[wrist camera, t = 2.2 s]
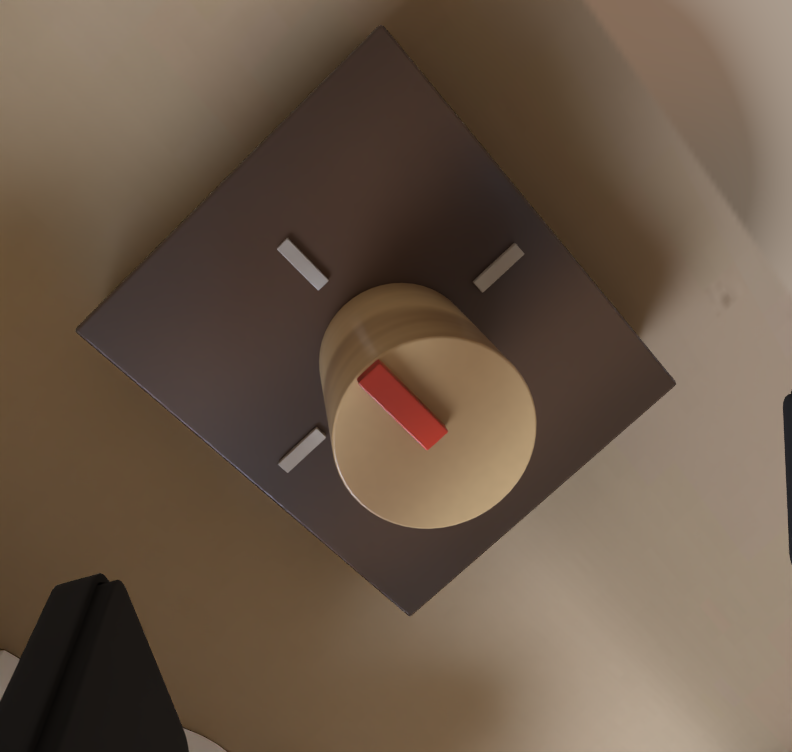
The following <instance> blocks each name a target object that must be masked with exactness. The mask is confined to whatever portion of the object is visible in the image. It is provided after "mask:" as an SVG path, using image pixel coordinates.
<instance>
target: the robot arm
mask: <svg viewBox="0 0 792 752" xmlns="http://www.w3.org/2000/svg"><path fill="white" fill-rule="evenodd" d="M783 418H784V440H785V463H786V486H787V509H788V531H789V554H790V560H791V563H792V391H791V394H789V395H787V396H786V397H785V399H784V402H783ZM0 752H189V748H188V743H187V738H186V735H185V732H184V730H183V727H182V725H181V722H180V720H179V717H178V715H177V712H176V710H175V708H174V705H173V703H172V700H171V698H170V695H169V693H168V690H167V688H166V685H165V683H164V681H163V678H162V676H161V673H160V671H159V668H158V666H157V663H156V661H155V659H154V656H153V654H152V651H151V649H150V646H149V644H148V641H147V639H146V637H145V634H144V632H143V629H142V627H141V624H140V622H139V619H138V617H137V614H136V612H135V610H134V607H133V605H132V602H131V600H130V597H129V595H128V592H127V590H126V588H125V586H124V584H123V583H122V582H121V581H120V580H115V581H112V582H109V580H108V579H107V578H106V577H105V575H103V574H101V573H99V574H96V575H92V576H89V577H85V578H81V579H78V580H74V581H70V582H67V583H63V584H59V585H57V586H55V587H54V589H53V590H52V592H51V594H50V596H49V598H48V600H47V603H46V605H45V607H44V609H43V611H42V613H41V615H40V618H39V620H38V622H37V624H36V626H35V628H34V630H33V632H32V635H31V637H30V639H29V641H28V643H27V645H26V647H25V649H24V652H23V654H22V656H21V658H20V660H19V662H18V664H17V666H16V669H15V671H14V673H13V675H12V677H11V679H10V681H9V683H8V686H7V688H6V690H5V692H4V694H3V696H2V698H1V701H0Z"/></svg>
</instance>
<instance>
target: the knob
mask: <svg viewBox="0 0 792 752" xmlns="http://www.w3.org/2000/svg"><path fill="white" fill-rule="evenodd" d="M319 371H320V377H321V384H322V390H323V396H324V402H325V408H326V415H327V421H328V427H329V433H330V439H331V445H332V451H333V456H334V461H335V465H336V468H337V470H338V473H339V476H340V478H341V479H342V481H343V483H344V485H345V487H346V488H347V489H348V491H349V492H350V493H351V495H352V496H353V497H354V498H355V499H356V500H357V501H358V502H359V503H360V504H361V505H362V506H363V507H365V508H366V509H367V510H368V511H370V512H371V513H373V514H375V515H376V516H378V517H380V518H382V519H384V520H387V521H389V522H391V523H394V524H398V525H401V526H405V527H411V528H421V529H433V528H443V527H448V526H453V525H457V524H460V523H463V522H466V521H469V520H471V519H473V518H475V517H477V516H479V515H481V514H483V513H484V512H486V511H488V510H489V509H491V508H492V507H493V506H495V505H496V504H497V503H498V502H500V501H501V500H502V499H503V498H504V497H505V496H506V495H507V494H508V493H509V492H510V491H511V490H512V489H513V487H514V486H515V485H516V484H517V482H518V481H519V479H520V478H521V476H522V474H523V473H524V471H525V469H526V467H527V465H528V463H529V461H530V458H531V455H532V452H533V448H534V444H535V438H536V426H537V420H536V410H535V406H534V401H533V397H532V395H531V392H530V390H529V387H528V385H527V384H526V382H525V380H524V378H523V377H522V375H521V374H520V373H519V371H518V370H517V369H516V367H515V366H514V365H513V364H512V363H511V362H510V361H509V360H508V359H507V358H506V357H505V356H504V355H503V354H502V353H501V352H500V351H499V350H498V349H497V348H496V347H495V346H494V344H493V343H492V342H491V341H490V340H489V339H488V338H487V337H486V336H485V335H484V334H483V333H482V332H481V331H480V330H479V329H478V328H477V327H476V326H475V325H474V324H473V323H472V322H471V321H470V320H469V319H468V318H467V317H466V316H465V315H464V314H463V313H462V312H461V311H460V310H459V309H458V307H456V306H455V305H454V304H453V303H452V302H451V301H450V300H449V299H448V298H446V297H445V296H443V295H442V294H440V293H438V292H436V291H434V290H433V289H430V288H427V287H424V286H421V285H416V284H410V283H391V284H385V285H380V286H377V287H374V288H371V289H369V290H367V291H364V292H362V293H360V294H359V295H357V296H356V297H354V298H353V299H351V300H350V301H349V302H348V303H346V304H345V305H344V306H343V307H342V308H341V309H340V310H339V311H338V312H337V313H336V315H335V316H334V318H333V319H332V321H331V322H330V324H329V326H328V328H327V329H326V331H325V334H324V337H323V340H322V343H321V348H320V354H319Z"/></svg>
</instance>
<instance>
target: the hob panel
mask: <svg viewBox="0 0 792 752" xmlns="http://www.w3.org/2000/svg"><path fill="white" fill-rule="evenodd" d="M391 283H410V284H416V285H421V286H424V287H427V288H430V289H433V290H434V291H436V292H438V293H440V294H442V295H443V296H445V297H446V298H448V299H449V300H450V301H451V302H452V303H453V304H454V305H455V306H456V307H458V309H459V310H460V311H461V312H462V313H463V314H464V315H465V316H466V317H467V318H468V319H469V320H470V321H471V322H472V323H473V324H474V325H475V326H476V327H477V328H478V329H479V330H480V331H481V332H482V333H483V334H484V335H485V336H486V337H487V338H488V339H489V340H490V341H491V342H492V343H493V344H494V346H495V347H496V348H497V349H498V350H499V351H500V352H501V353H502V354H503V355H504V356H505V357H506V358H507V359H508V360H509V361H510V362H511V363H512V364H513V365H514V366H515V367H516V369H517V370H518V371H519V373H520V374H521V375H522V377H523V378H524V380H525V382H526V384H527V385H528V387H529V390H530V392H531V395H532V397H533V401H534V406H535V410H536V420H537V426H536V438H535V444H534V448H533V452H532V455H531V458H530V461H529V463H528V465H527V467H526V469H525V471H524V473H523V474H522V476H521V478H520V479H519V481H518V482H517V484H516V485H515V486H514V487H513V489H512V490H511V491H510V492H509V493H508V494H507V495H506V496H505V497H504V498H503V499H502V500H501V501H500V502H498V503H497V504H496V505H495V506H493V507H492V508H491V509H489V510H488V511H486V512H484V513H483V514H481V515H479V516H477V517H475V518H473V519H471V520H469V521H466V522H463V523H460V524H457V525H453V526H448V527H443V528H433V529H421V528H411V527H405V526H401V525H398V524H394V523H391V522H389V521H387V520H384V519H382V518H380V517H378V516H376V515H375V514H373V513H371V512H370V511H368V510H367V509H366V508H365V507H363V506H362V505H361V504H360V503H359V502H358V501H357V500H356V499H355V498H354V497H353V496H352V495H351V493H350V492H349V491H348V489H347V488H346V487H345V485H344V483H343V481H342V479H341V478H340V476H339V473H338V470H337V468H336V465H335V461H334V456H333V451H332V445H331V439H330V433H329V427H328V421H327V415H326V408H325V402H324V396H323V390H322V384H321V377H320V371H319V354H320V348H321V343H322V340H323V337H324V334H325V331H326V329H327V328H328V326H329V324H330V322H331V321H332V319H333V318H334V316H335V315H336V313H337V312H338V311H339V310H340V309H341V308H342V307H343V306H344V305H345V304H346V303H348V302H349V301H350V300H351V299H353V298H354V297H356V296H357V295H359V294H360V293H362V292H364V291H367V290H369V289H371V288H374V287H377V286H380V285H385V284H391ZM75 331H76V332H77V334H79V335H80V336H81V337H82V338H83V339H84V340H86V341H87V342H88V343H89V344H90V345H91V346H93V347H94V348H95V349H96V350H97V351H99V352H100V353H101V354H102V355H103V356H104V357H106V358H107V359H108V360H109V361H110V362H111V363H113V364H114V365H115V366H116V367H117V368H118V369H120V370H121V371H122V372H123V373H124V374H126V375H127V376H128V377H129V378H130V379H131V380H133V381H134V382H135V383H136V384H137V385H138V386H140V387H141V388H142V389H143V390H144V391H145V392H147V393H148V394H149V395H150V396H151V397H152V398H154V399H155V400H156V401H157V402H158V403H160V404H161V405H162V406H163V407H164V408H165V409H167V410H168V411H169V412H170V413H171V414H172V415H174V416H175V417H176V418H177V419H178V420H179V421H181V422H182V423H183V424H184V425H185V426H187V427H188V428H189V429H190V430H191V431H192V432H194V433H195V434H196V435H197V436H198V437H199V438H201V439H202V440H203V441H204V442H205V443H206V444H208V445H209V446H210V447H211V448H212V449H213V450H215V451H216V452H217V453H218V454H219V455H221V456H222V457H223V458H224V459H225V460H226V461H228V462H229V463H230V464H231V465H232V466H233V467H235V468H236V469H237V470H238V471H239V472H240V473H242V474H243V475H244V476H245V477H246V478H248V479H249V480H250V481H251V482H252V483H253V484H255V485H256V486H257V487H258V488H259V489H260V490H262V491H263V492H264V493H265V494H266V495H267V496H269V497H270V498H271V499H272V500H273V501H274V502H276V503H277V504H278V505H279V506H280V507H282V508H283V509H284V510H285V511H286V512H287V513H289V514H290V515H291V516H292V517H293V518H294V519H296V520H297V521H298V522H299V523H300V524H301V525H303V526H304V527H305V528H306V529H307V530H309V531H310V532H311V533H312V534H313V535H314V536H316V537H317V538H318V539H319V540H320V541H321V542H323V543H324V544H325V545H326V546H327V547H328V548H330V549H331V550H332V551H333V552H334V553H335V554H337V555H338V556H339V557H340V558H341V559H343V560H344V561H345V562H346V563H347V564H348V565H350V566H351V567H352V568H353V569H354V570H355V571H357V572H358V573H359V574H360V575H361V576H362V577H364V578H365V579H366V580H367V581H368V582H370V583H371V584H372V585H373V586H374V587H375V588H377V589H378V590H379V591H380V592H381V593H382V594H384V595H385V596H386V597H387V598H388V599H389V600H391V601H392V602H393V603H394V604H395V605H396V606H398V607H399V608H400V609H401V610H402V611H404V612H405V613H406V614H407V615H408V616H412V615H413V614H414V613H415V612H416V611H417V610H418V609H420V608H421V607H422V606H423V605H424V604H425V603H426V602H428V601H429V600H430V599H431V598H432V597H433V596H435V595H436V594H437V593H438V592H439V591H440V590H441V589H443V588H444V587H445V586H446V585H447V584H448V583H449V582H451V581H452V580H453V579H454V578H455V577H456V576H457V575H459V574H460V573H461V572H462V571H463V570H464V569H465V568H467V567H468V566H469V565H470V564H471V563H472V562H473V561H475V560H476V559H477V558H478V557H479V556H480V555H481V554H483V553H484V552H485V551H486V550H487V549H488V548H490V547H491V546H492V545H493V544H494V543H495V542H496V541H498V540H499V539H500V538H501V537H502V536H503V535H504V534H506V533H507V532H508V531H509V530H510V529H511V528H512V527H514V526H515V525H516V524H517V523H518V522H519V521H520V520H522V519H523V518H524V517H525V516H526V515H527V514H528V513H530V512H531V511H532V510H533V509H534V508H535V507H537V506H538V505H539V504H540V503H541V502H542V501H543V500H545V499H546V498H547V497H548V496H549V495H550V494H551V493H553V492H554V491H555V490H556V489H557V488H558V487H559V486H561V485H562V484H563V483H564V482H565V481H566V480H567V479H569V478H570V477H571V476H572V475H573V474H574V473H575V472H577V471H578V470H579V469H580V468H581V467H582V466H583V465H585V464H586V463H587V462H588V461H589V460H590V459H592V458H593V457H594V456H595V455H596V454H597V453H598V452H600V451H601V450H602V449H603V448H604V447H605V446H606V445H608V444H609V443H610V442H611V441H612V440H613V439H614V438H616V437H617V436H618V435H619V434H620V433H621V432H622V431H624V430H625V429H626V428H627V427H628V426H629V425H630V424H632V423H633V422H634V421H635V420H636V419H637V418H638V417H640V416H641V415H642V414H643V413H644V412H645V411H647V410H648V409H649V408H650V407H651V406H652V405H653V404H655V403H656V402H657V401H658V400H659V399H660V398H661V397H663V396H664V395H665V394H666V393H667V392H668V391H669V390H671V389H672V388H673V387H674V386H675V385H676V382H675V380H674V379H673V378H672V377H671V375H670V374H669V373H668V372H667V371H666V369H665V368H664V367H663V366H662V364H661V363H660V362H659V361H658V360H657V358H656V357H655V356H654V355H653V354H652V352H651V351H650V350H649V349H648V347H647V346H646V345H645V344H644V343H643V341H642V340H641V339H640V338H639V336H638V335H637V334H636V333H635V332H634V330H633V329H632V328H631V327H630V326H629V324H628V323H627V322H626V321H625V319H624V318H623V317H622V316H621V315H620V313H619V312H618V311H617V310H616V308H615V307H614V306H613V305H612V304H611V302H610V301H609V300H608V299H607V298H606V296H605V295H604V294H603V293H602V291H601V290H600V289H599V288H598V287H597V285H596V284H595V283H594V282H593V280H592V279H591V278H590V277H589V276H588V274H587V273H586V272H585V271H584V270H583V268H582V267H581V266H580V265H579V263H578V262H577V261H576V260H575V259H574V257H573V256H572V255H571V254H570V252H569V251H568V250H567V249H566V248H565V246H564V245H563V244H562V243H561V242H560V240H559V239H558V238H557V237H556V235H555V234H554V233H553V232H552V231H551V229H550V228H549V227H548V226H547V224H546V223H545V222H544V221H543V220H542V218H541V217H540V216H539V215H538V213H537V212H536V211H535V210H534V209H533V207H532V206H531V205H530V204H529V203H528V201H527V200H526V199H525V198H524V196H523V195H522V194H521V193H520V192H519V190H518V189H517V188H516V187H515V185H514V184H513V183H512V182H511V181H510V179H509V178H508V177H507V176H506V175H505V173H504V172H503V171H502V170H501V168H500V167H499V166H498V165H497V164H496V162H495V161H494V160H493V159H492V157H491V156H490V155H489V154H488V153H487V151H486V150H485V149H484V148H483V147H482V145H481V144H480V143H479V142H478V140H477V139H476V138H475V137H474V136H473V134H472V133H471V132H470V131H469V129H468V128H467V127H466V126H465V125H464V123H463V122H462V121H461V120H460V119H459V117H458V116H457V115H456V114H455V112H454V111H453V110H452V109H451V108H450V106H449V105H448V104H447V103H446V101H445V100H444V99H443V98H442V97H441V95H440V94H439V93H438V92H437V91H436V89H435V88H434V87H433V86H432V84H431V83H430V82H429V81H428V80H427V78H426V77H425V76H424V75H423V73H422V72H421V71H420V70H419V69H418V67H417V66H416V65H415V64H414V63H413V61H412V60H411V59H410V58H409V56H408V55H407V54H406V53H405V52H404V50H403V49H402V48H401V47H400V45H399V44H398V43H397V42H396V41H395V39H394V38H393V37H392V36H391V35H390V33H389V32H388V31H387V30H386V28H385V27H384V26H382V25H380V26H378V27H377V28H376V29H375V30H374V31H373V32H372V33H371V34H370V35H369V36H368V37H367V38H366V39H365V40H364V41H363V42H362V43H361V44H360V45H359V46H358V47H357V48H356V49H355V50H354V51H353V52H352V53H351V54H350V55H349V56H348V57H347V58H346V59H345V60H344V61H343V62H342V63H341V64H340V65H339V66H338V67H337V68H336V69H335V70H334V71H333V72H332V73H331V74H330V75H329V76H328V77H327V78H326V79H325V80H324V81H323V82H322V83H321V84H320V85H319V86H318V87H317V88H316V89H315V90H314V91H313V92H312V93H311V94H310V95H309V96H308V97H307V98H306V99H305V100H304V101H303V102H302V103H301V104H300V105H299V106H298V107H297V108H296V109H295V110H294V111H293V112H292V113H291V114H290V115H289V116H288V117H287V118H286V119H285V120H284V121H283V122H282V123H281V124H280V125H279V126H278V127H277V128H276V129H275V130H274V131H273V132H272V133H271V134H270V135H269V136H268V137H267V138H266V139H265V140H264V141H263V142H262V143H261V144H260V145H259V146H258V147H257V148H256V149H255V150H254V151H253V152H252V153H251V154H250V155H249V156H248V157H247V158H246V159H245V160H244V161H243V162H242V163H241V164H240V165H239V166H238V167H237V168H236V169H235V170H234V171H233V172H232V173H231V174H230V175H229V176H228V177H227V178H226V179H225V180H224V181H223V182H222V183H221V184H220V185H219V186H218V187H217V188H216V189H215V190H214V191H213V192H212V193H211V194H210V195H209V196H208V197H207V198H206V199H205V200H204V201H203V202H202V203H201V204H200V205H199V206H198V207H197V208H196V209H195V210H194V211H193V212H192V213H191V214H190V215H189V216H188V217H187V218H186V219H185V220H184V221H183V222H182V223H181V224H180V225H179V226H178V227H177V228H176V229H175V230H174V231H173V232H172V233H171V234H170V235H169V236H168V237H167V238H166V239H165V240H164V241H163V242H162V243H161V244H160V245H159V246H158V247H157V248H156V249H155V250H154V251H153V252H152V253H151V254H150V255H149V256H148V257H147V258H146V259H145V260H144V261H143V262H142V263H141V264H140V265H139V266H138V267H137V268H136V269H135V270H134V271H133V272H132V273H131V274H130V275H129V276H128V277H127V278H126V279H125V280H124V281H123V282H122V283H121V284H120V285H119V286H118V287H117V288H116V289H115V290H114V291H113V292H112V293H111V294H110V295H109V296H108V297H107V298H106V299H105V300H104V301H103V302H102V303H101V304H100V305H99V306H98V307H97V308H96V309H95V310H94V311H93V312H92V313H91V314H90V315H89V316H88V317H87V318H86V319H85V320H84V321H83V322H82V323H81V324H80V325H79V326H78V327H77V328H76V330H75Z"/></svg>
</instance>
